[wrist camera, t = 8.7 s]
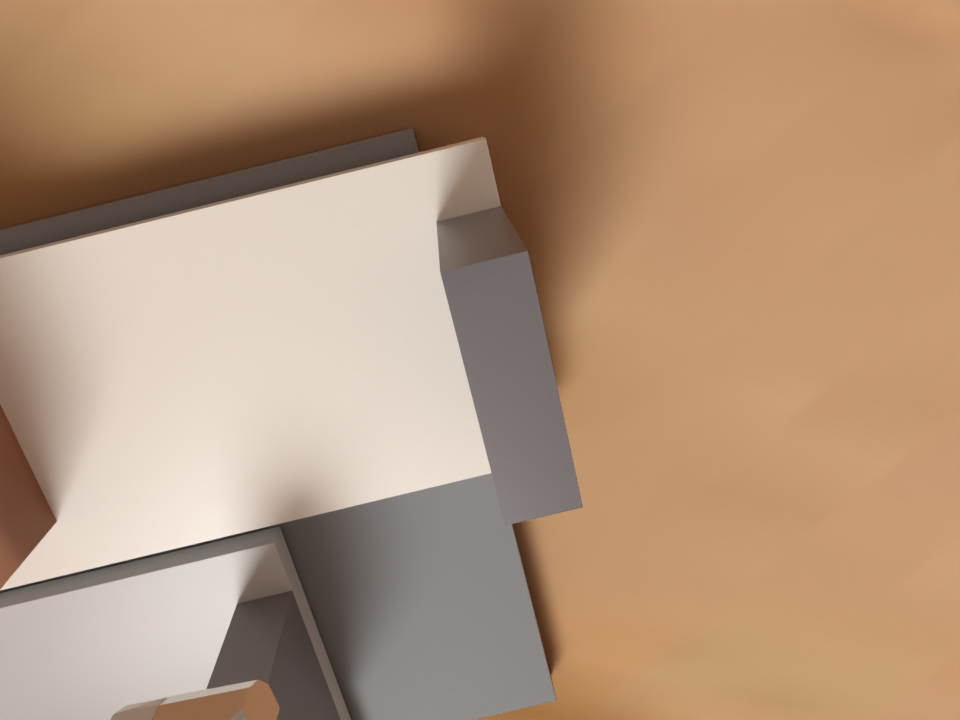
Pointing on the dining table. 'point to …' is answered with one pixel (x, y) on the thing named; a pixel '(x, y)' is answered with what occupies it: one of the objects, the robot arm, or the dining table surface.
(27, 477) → the rust block
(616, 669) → the dining table surface
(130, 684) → the grey strip
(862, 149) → the dining table surface
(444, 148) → the white strip
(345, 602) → the slate board
